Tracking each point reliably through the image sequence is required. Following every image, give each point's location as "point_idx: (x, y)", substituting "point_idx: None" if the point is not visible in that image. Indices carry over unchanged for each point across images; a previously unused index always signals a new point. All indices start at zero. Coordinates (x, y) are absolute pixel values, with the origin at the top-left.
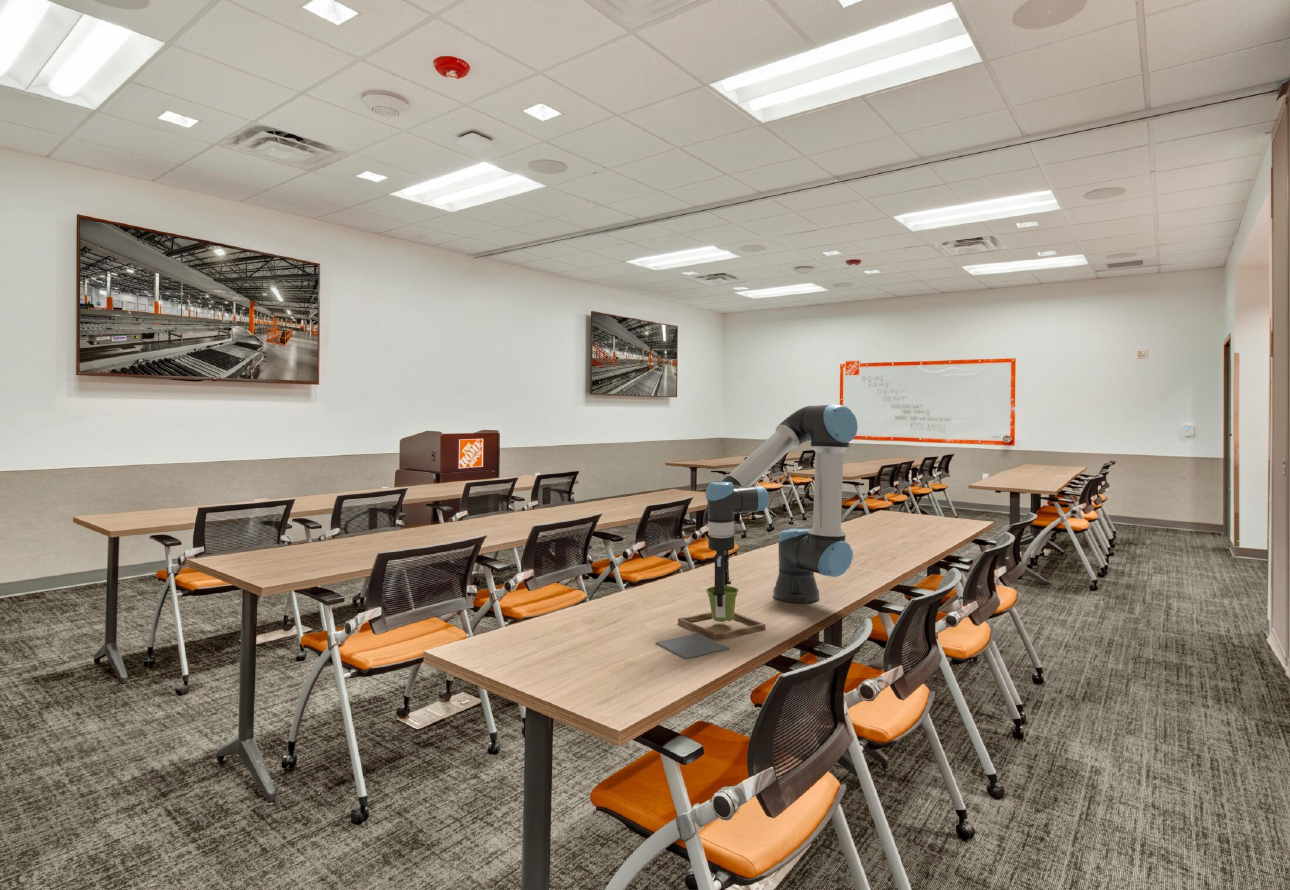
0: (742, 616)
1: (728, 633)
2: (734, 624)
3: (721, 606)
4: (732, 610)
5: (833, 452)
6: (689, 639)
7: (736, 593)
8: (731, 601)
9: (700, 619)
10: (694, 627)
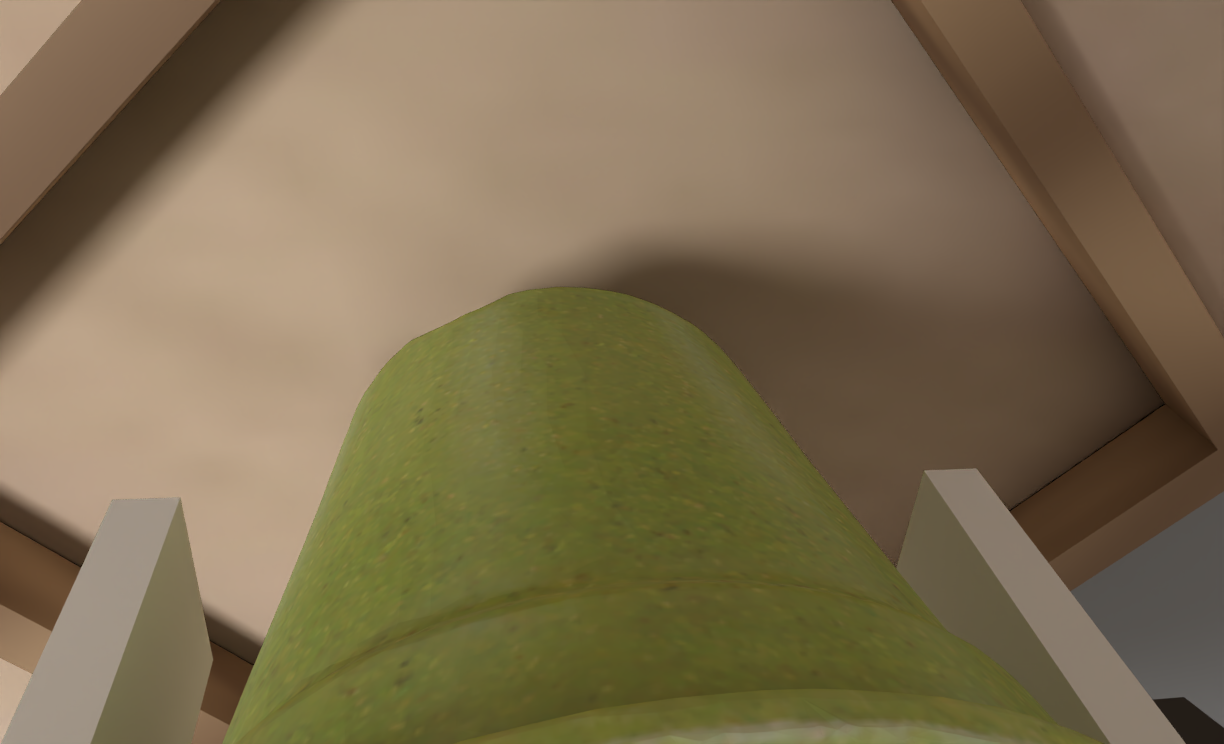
0: (91, 93)
1: (1185, 279)
2: (390, 212)
3: (1187, 718)
4: (737, 409)
5: None
6: (1190, 674)
7: (846, 683)
8: (920, 602)
9: None
10: None
